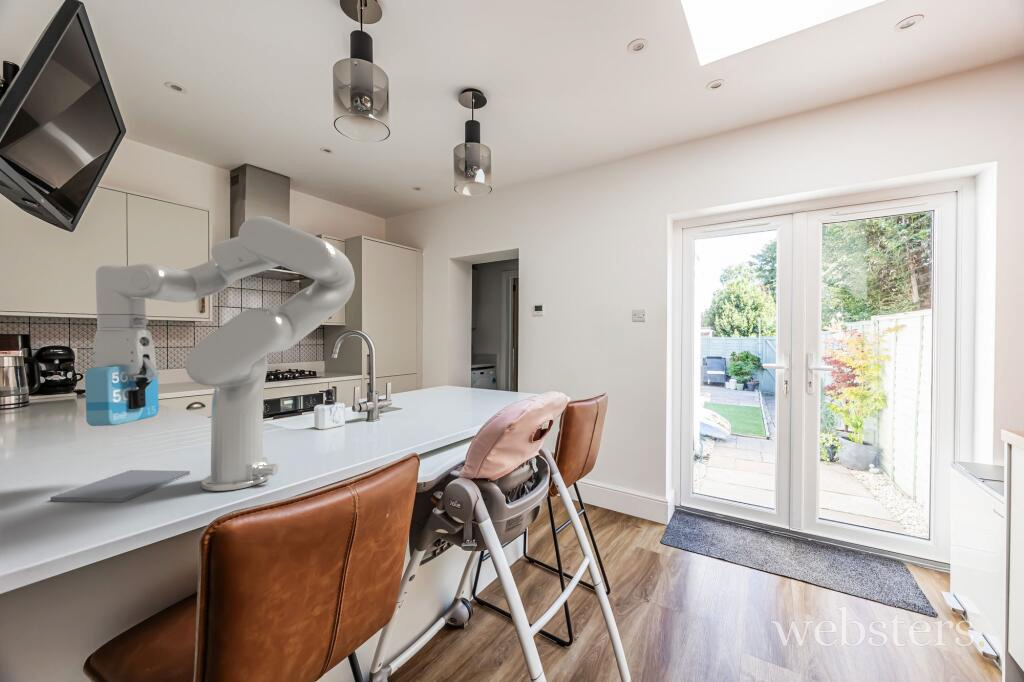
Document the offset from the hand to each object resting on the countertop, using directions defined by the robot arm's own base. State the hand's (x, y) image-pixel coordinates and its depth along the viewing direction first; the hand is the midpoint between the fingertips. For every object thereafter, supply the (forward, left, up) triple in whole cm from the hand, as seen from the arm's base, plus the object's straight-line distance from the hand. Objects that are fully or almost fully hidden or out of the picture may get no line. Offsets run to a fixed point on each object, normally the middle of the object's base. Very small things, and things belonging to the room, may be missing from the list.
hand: (125, 407), depth 86 cm
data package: (0, 0, -3) cm, 3 cm away
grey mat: (-1, +1, -17) cm, 17 cm away
